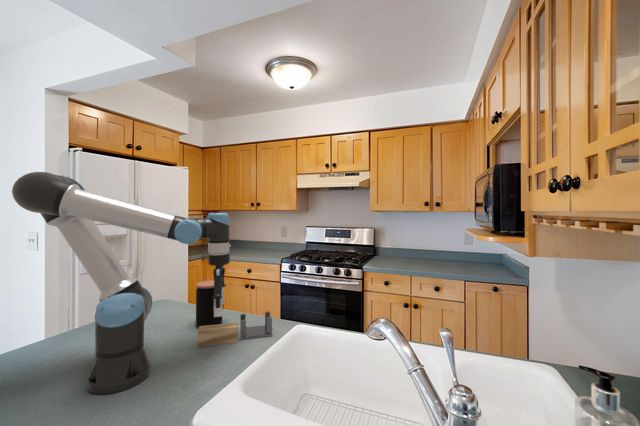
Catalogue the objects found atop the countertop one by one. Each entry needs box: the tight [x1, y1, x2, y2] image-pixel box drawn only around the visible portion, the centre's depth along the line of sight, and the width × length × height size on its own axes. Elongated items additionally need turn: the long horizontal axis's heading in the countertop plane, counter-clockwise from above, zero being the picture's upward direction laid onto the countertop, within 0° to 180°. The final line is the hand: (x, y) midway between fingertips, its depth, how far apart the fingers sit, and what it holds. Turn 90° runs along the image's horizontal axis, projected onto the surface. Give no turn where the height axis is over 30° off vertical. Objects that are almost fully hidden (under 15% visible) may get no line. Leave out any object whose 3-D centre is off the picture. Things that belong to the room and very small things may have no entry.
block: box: [197, 322, 239, 347], centre depth 106 cm, size 4×14×6 cm, turn 105°
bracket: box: [239, 310, 273, 341], centre depth 114 cm, size 9×12×7 cm
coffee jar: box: [195, 279, 223, 329], centre depth 122 cm, size 11×11×18 cm
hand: (219, 309), depth 106 cm, fingers open, 13 cm apart
